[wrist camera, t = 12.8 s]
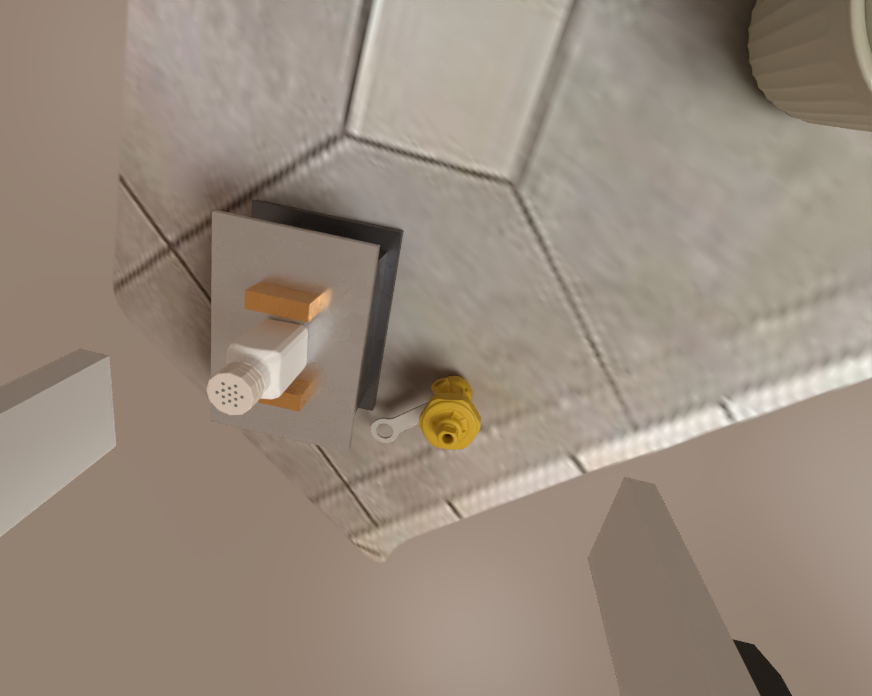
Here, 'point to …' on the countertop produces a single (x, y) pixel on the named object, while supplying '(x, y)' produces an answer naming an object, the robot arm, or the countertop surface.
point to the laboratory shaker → (306, 312)
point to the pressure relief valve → (440, 416)
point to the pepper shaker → (259, 366)
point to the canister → (815, 59)
